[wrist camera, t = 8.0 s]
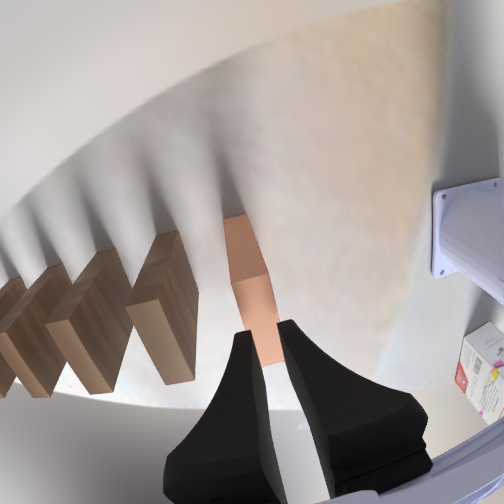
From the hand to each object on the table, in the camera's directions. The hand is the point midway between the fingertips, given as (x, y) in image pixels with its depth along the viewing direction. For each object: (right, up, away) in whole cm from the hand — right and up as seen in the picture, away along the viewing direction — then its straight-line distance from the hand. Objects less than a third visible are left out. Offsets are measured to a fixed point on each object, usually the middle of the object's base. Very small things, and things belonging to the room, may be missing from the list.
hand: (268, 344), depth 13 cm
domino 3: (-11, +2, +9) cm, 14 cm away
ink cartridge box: (+27, -9, +19) cm, 34 cm away
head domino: (-1, +4, +10) cm, 10 cm away
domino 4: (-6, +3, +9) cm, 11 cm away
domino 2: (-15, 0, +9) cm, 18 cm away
